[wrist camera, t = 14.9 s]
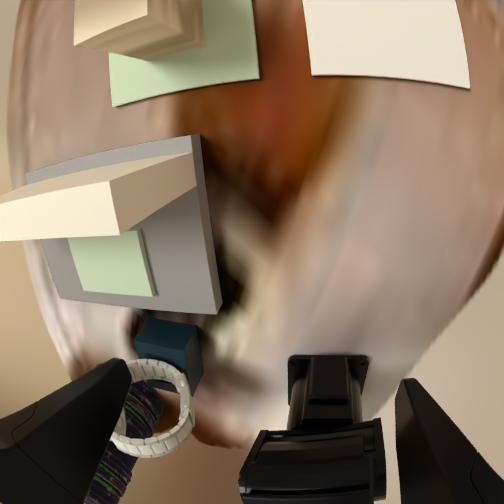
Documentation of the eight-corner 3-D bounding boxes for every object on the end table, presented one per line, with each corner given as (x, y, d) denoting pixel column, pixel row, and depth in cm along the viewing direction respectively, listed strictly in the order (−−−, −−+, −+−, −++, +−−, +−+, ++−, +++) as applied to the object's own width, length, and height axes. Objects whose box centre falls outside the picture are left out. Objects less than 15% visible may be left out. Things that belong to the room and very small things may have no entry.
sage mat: (259, 78, 15) (258, 77, 15) (115, 106, 18) (112, 106, 17) (245, -50, 11) (244, -53, 11) (112, -11, 14) (109, -12, 13)
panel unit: (222, 302, 22) (174, 401, 14) (69, 290, 26) (6, 347, 17) (199, 134, 17) (104, 153, 9) (36, 169, 21) (-49, 203, 12)
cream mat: (467, 88, 13) (470, 88, 12) (311, 75, 15) (311, 74, 14) (439, -40, 9) (441, -42, 8) (292, -55, 11) (292, -58, 10)
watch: (131, 314, 25) (60, 402, 15) (217, 328, 23) (165, 444, 14) (144, 359, 27) (89, 445, 17) (222, 375, 26) (183, 479, 16)
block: (205, 46, 15) (147, 14, 8) (146, 61, 16) (73, 45, 9) (200, -18, 13) (148, -66, 6) (144, -1, 14) (79, -33, 7)
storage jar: (109, 406, 34) (59, 488, 20) (81, 354, 30) (10, 444, 16) (174, 425, 32) (129, 524, 18) (151, 372, 28) (82, 491, 14)
